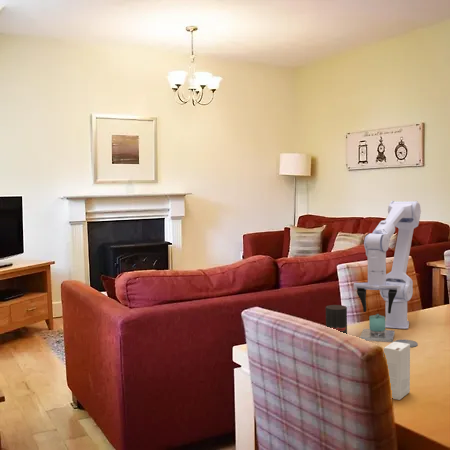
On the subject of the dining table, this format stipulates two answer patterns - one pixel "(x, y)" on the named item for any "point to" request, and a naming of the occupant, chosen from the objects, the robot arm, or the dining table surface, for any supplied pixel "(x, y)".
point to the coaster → (408, 342)
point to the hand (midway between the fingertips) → (377, 312)
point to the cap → (377, 322)
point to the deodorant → (337, 317)
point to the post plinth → (378, 335)
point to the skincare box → (398, 368)
